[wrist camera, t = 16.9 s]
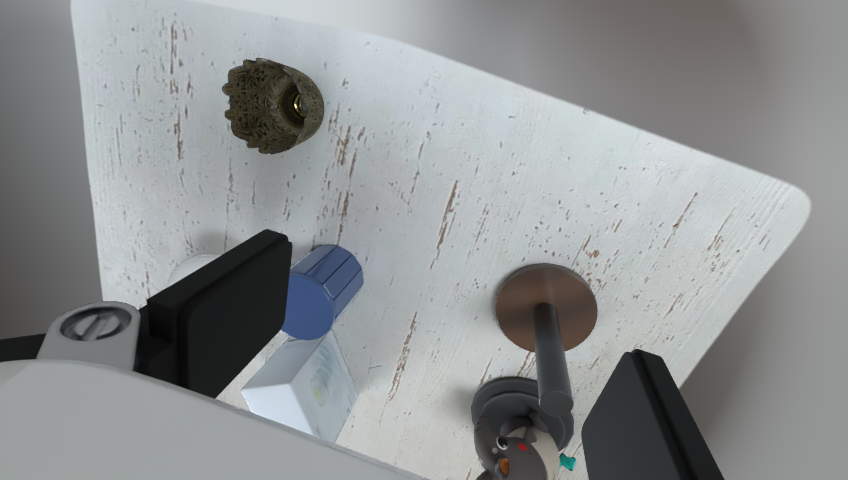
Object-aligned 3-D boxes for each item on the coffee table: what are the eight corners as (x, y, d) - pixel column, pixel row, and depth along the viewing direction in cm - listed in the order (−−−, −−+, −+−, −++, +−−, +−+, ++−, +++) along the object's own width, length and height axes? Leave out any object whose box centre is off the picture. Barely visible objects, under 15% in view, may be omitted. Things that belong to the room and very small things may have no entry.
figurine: (528, 468, 50) (532, 572, 39) (452, 412, 49) (434, 502, 38) (595, 419, 45) (619, 522, 34) (511, 357, 45) (509, 442, 34)
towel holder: (478, 287, 42) (462, 373, 30) (567, 247, 39) (592, 324, 26) (523, 359, 44) (525, 469, 32) (612, 327, 41) (655, 436, 28)
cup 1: (341, 148, 40) (303, 162, 33) (275, 136, 41) (223, 147, 34) (346, 69, 37) (305, 64, 30) (275, 58, 39) (218, 51, 31)
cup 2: (293, 261, 46) (251, 293, 39) (339, 234, 44) (303, 263, 36) (328, 310, 48) (294, 350, 40) (375, 286, 45) (347, 324, 38)
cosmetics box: (362, 395, 51) (326, 465, 42) (319, 399, 53) (276, 467, 44) (333, 326, 48) (288, 384, 39) (290, 333, 50) (236, 390, 41)
